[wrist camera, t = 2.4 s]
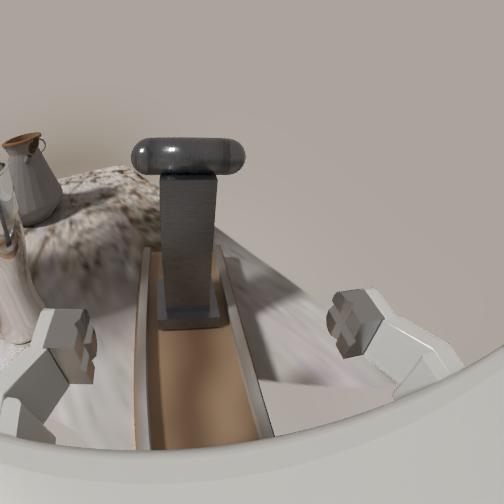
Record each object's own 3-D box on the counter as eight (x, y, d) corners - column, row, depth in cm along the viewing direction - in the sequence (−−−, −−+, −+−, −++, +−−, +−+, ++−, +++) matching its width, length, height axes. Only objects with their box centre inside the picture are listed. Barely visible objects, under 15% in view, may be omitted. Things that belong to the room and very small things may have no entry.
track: (143, 487, 13) (135, 480, 12) (143, 263, 32) (141, 244, 31) (280, 473, 16) (288, 464, 14) (221, 260, 35) (222, 242, 33)
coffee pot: (1, 213, 37) (-13, 130, 29) (55, 193, 45) (48, 113, 37) (18, 277, 27) (-14, 153, 18) (96, 243, 34) (84, 125, 26)
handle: (144, 330, 23) (124, 149, 15) (149, 247, 32) (146, 115, 24) (233, 325, 24) (256, 150, 16) (214, 245, 34) (225, 116, 26)
